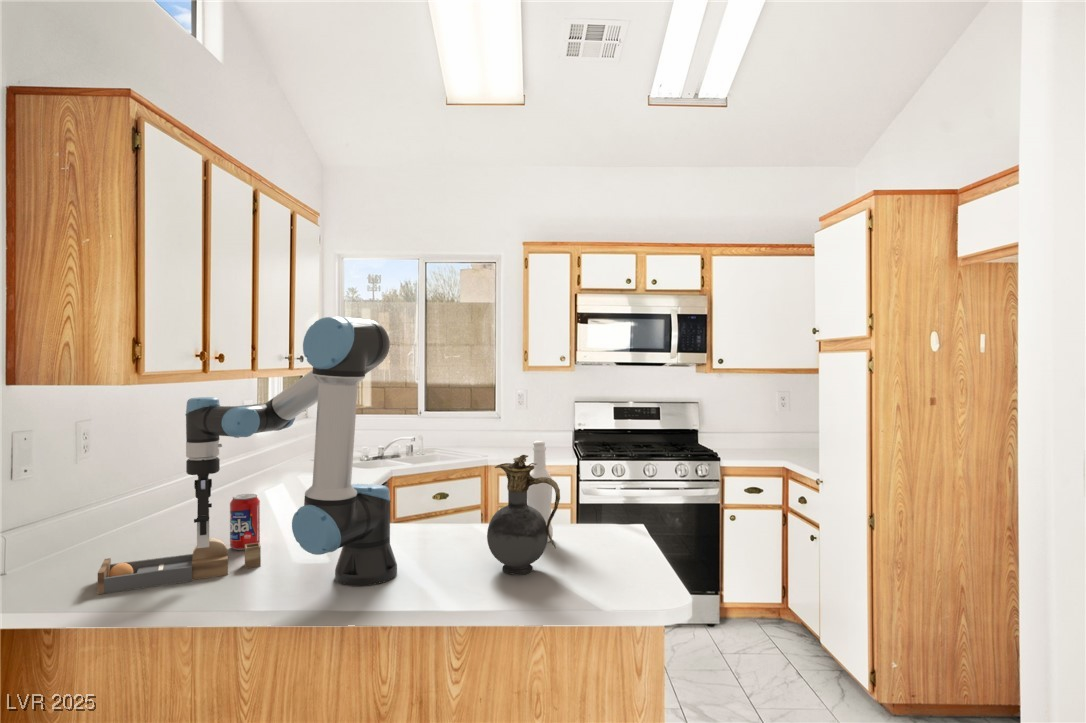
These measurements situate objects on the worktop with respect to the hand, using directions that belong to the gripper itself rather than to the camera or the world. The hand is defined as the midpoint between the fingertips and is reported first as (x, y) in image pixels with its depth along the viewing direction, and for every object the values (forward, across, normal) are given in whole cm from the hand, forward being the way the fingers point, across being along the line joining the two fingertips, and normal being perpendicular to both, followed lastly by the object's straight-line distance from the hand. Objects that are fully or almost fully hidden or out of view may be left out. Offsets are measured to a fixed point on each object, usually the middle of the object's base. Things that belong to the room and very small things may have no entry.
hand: (203, 540), depth 163 cm
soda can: (+8, +18, -10) cm, 22 cm away
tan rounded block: (+8, 0, -2) cm, 8 cm away
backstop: (+8, 0, +21) cm, 23 cm away
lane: (+8, 0, +12) cm, 14 cm away
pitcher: (+8, -37, -74) cm, 83 cm away
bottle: (+8, -15, -90) cm, 91 cm away
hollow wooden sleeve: (+8, 0, -12) cm, 14 cm away
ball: (+6, 0, +18) cm, 19 cm away
